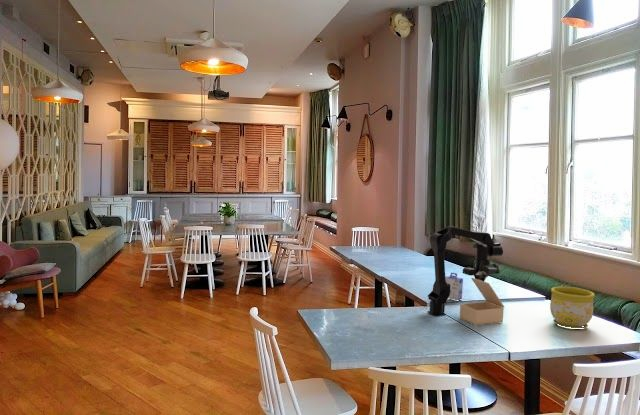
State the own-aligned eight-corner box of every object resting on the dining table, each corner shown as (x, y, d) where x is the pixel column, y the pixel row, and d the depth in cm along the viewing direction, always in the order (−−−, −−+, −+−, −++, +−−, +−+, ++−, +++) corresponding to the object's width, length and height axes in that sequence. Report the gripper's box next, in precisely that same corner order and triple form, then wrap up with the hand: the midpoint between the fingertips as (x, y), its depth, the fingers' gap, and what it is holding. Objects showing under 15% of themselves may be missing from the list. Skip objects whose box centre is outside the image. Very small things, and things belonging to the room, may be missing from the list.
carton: (475, 325, 226) (476, 310, 226) (459, 318, 237) (460, 303, 236) (502, 322, 232) (503, 307, 231) (485, 315, 243) (486, 301, 242)
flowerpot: (597, 334, 220) (600, 297, 218) (554, 330, 223) (556, 294, 222) (584, 321, 237) (587, 288, 236) (544, 318, 241) (546, 285, 239)
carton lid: (488, 284, 227) (489, 283, 227) (471, 278, 237) (472, 277, 238) (503, 308, 231) (504, 306, 232) (486, 301, 242) (487, 300, 242)
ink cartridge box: (462, 300, 270) (463, 274, 268) (458, 302, 265) (460, 275, 264) (445, 297, 276) (446, 271, 274) (441, 298, 271) (442, 272, 270)
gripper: (477, 260, 237) (475, 292, 238) (508, 259, 244) (506, 290, 245) (462, 256, 247) (461, 287, 248) (492, 255, 254) (490, 285, 255)
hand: (480, 287), depth 249 cm, fingers closed
